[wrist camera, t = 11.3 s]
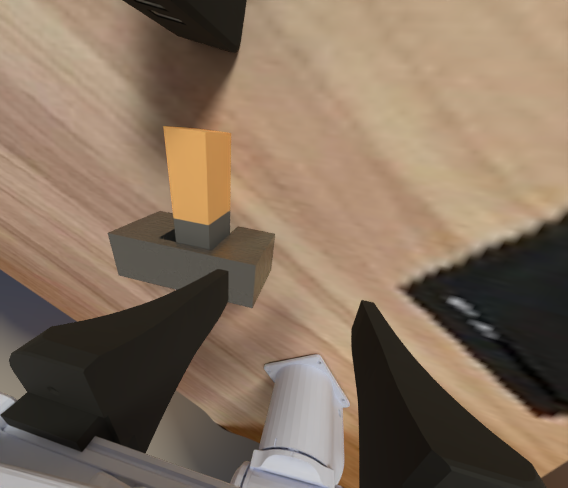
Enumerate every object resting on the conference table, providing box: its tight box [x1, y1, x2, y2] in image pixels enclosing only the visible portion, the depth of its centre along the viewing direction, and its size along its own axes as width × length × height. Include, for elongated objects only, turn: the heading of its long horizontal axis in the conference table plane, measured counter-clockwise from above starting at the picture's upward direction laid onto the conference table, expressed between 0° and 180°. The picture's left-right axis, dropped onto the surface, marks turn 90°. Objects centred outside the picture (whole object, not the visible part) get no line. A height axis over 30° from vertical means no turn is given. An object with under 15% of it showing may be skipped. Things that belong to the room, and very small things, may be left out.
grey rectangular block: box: [108, 211, 275, 308], centre depth 20 cm, size 4×12×6 cm, turn 83°
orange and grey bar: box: [163, 126, 231, 250], centre depth 19 cm, size 13×3×4 cm, turn 173°
